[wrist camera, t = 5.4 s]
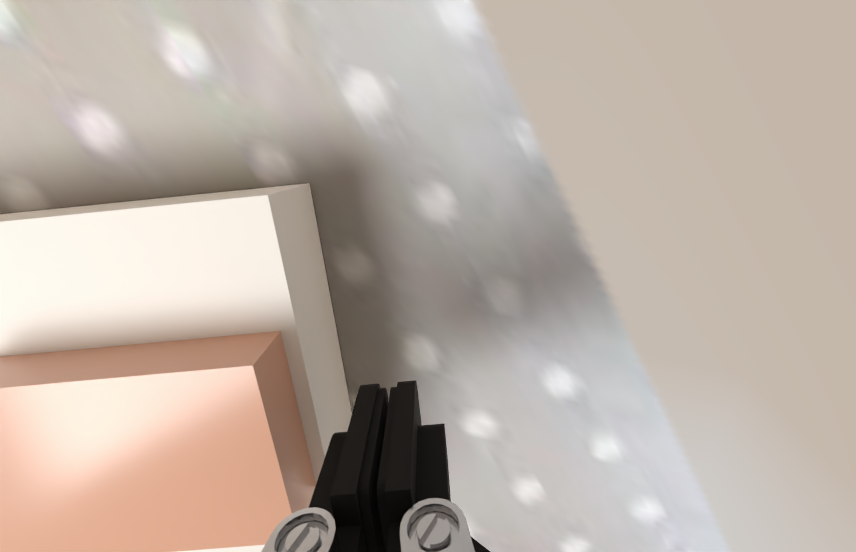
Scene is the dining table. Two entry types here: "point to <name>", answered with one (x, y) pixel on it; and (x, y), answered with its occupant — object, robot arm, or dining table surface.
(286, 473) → the tile
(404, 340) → the dining table surface
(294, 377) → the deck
